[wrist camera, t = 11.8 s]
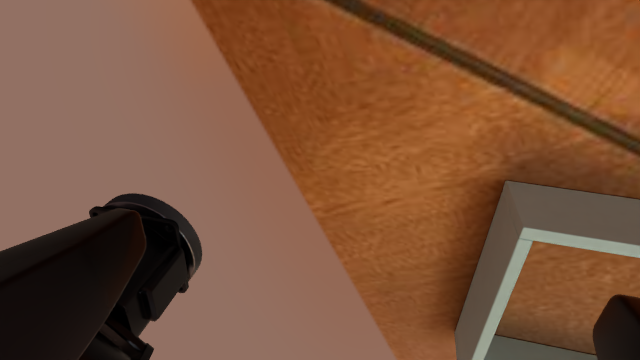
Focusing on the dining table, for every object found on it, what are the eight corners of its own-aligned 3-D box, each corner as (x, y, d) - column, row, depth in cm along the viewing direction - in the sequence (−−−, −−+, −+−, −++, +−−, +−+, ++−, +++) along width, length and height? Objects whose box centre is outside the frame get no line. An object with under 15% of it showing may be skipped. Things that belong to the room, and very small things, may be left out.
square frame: (454, 332, 26) (459, 390, 22) (505, 180, 20) (523, 227, 16) (651, 373, 24) (690, 443, 20) (773, 218, 18) (856, 280, 15)
